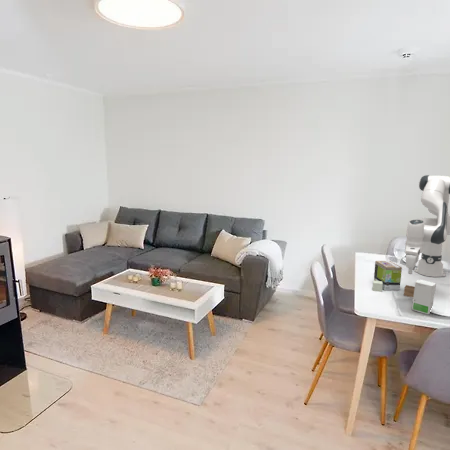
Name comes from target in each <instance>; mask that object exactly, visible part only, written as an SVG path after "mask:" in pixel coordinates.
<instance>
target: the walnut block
mask: <svg viewBox="0 0 450 450" xmlns="http://www.w3.org/2000/svg"><path fill="white" fill-rule="evenodd" d="M403 289H404V290H403V296H404V297H410V298H413V297H414V290H415V285H414V286H412V285H407V284H405V285H404V288H403Z"/></svg>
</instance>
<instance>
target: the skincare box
mask: <svg viewBox="0 0 450 450" xmlns="http://www.w3.org/2000/svg"><path fill="white" fill-rule="evenodd" d="M414 283H415V284H414V287H415V290H414V297H412V298H413V299H412V305H411V310H412V311H415V312H418V313H422V314H424V315H430V314H431V313H430V310H431V308H432V306H433V307H434V300H435V294H436V287H437V283H436V282H432V281H428V280H425V279H418V280H416V281H415V282H414ZM432 309H433V308H432Z"/></svg>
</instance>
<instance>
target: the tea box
mask: <svg viewBox="0 0 450 450" xmlns="http://www.w3.org/2000/svg"><path fill="white" fill-rule="evenodd" d="M402 270H403V267H402V266H400V265H398V264H397V263H395V262H393V261H391V260H375V262H374V273H373V280H374V281H382V283H383V286H382V291H400V290H401V281H402V273H403V272H402Z"/></svg>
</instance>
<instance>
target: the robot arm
mask: <svg viewBox="0 0 450 450" xmlns="http://www.w3.org/2000/svg"><path fill="white" fill-rule="evenodd" d="M418 188H419V190H420V191H422V194H421V196H420V197H421V198H420V202H421V203H422V205H423V206H424V208H426V209H427V210H428V212H429V213H431V214H432V215H434V216H436V217H435V218H433V217H432V218H431V217H430V218H429V217H420V218H416V219H412V220H409V222H408V224H407V228H406V240H405V244H404V245H405V246H404V254H405V266H406V268H407V270H408V275H413V272H415V273H417V274H419V275H422V276H426V277H433V278H434V277H435V278H438V277H446V273H445V271H444V263H443V262H442V260H443V257H442V252H443V251H442V250H443V243H444V242H446V240H447V236H450V214H449V203H450V176H449V175H448V176H447V175H430V174H425V175H422V177H421V178H420V180H419V182H418ZM419 256H421V257H420V259H419ZM416 264H417V268H416Z"/></svg>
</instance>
